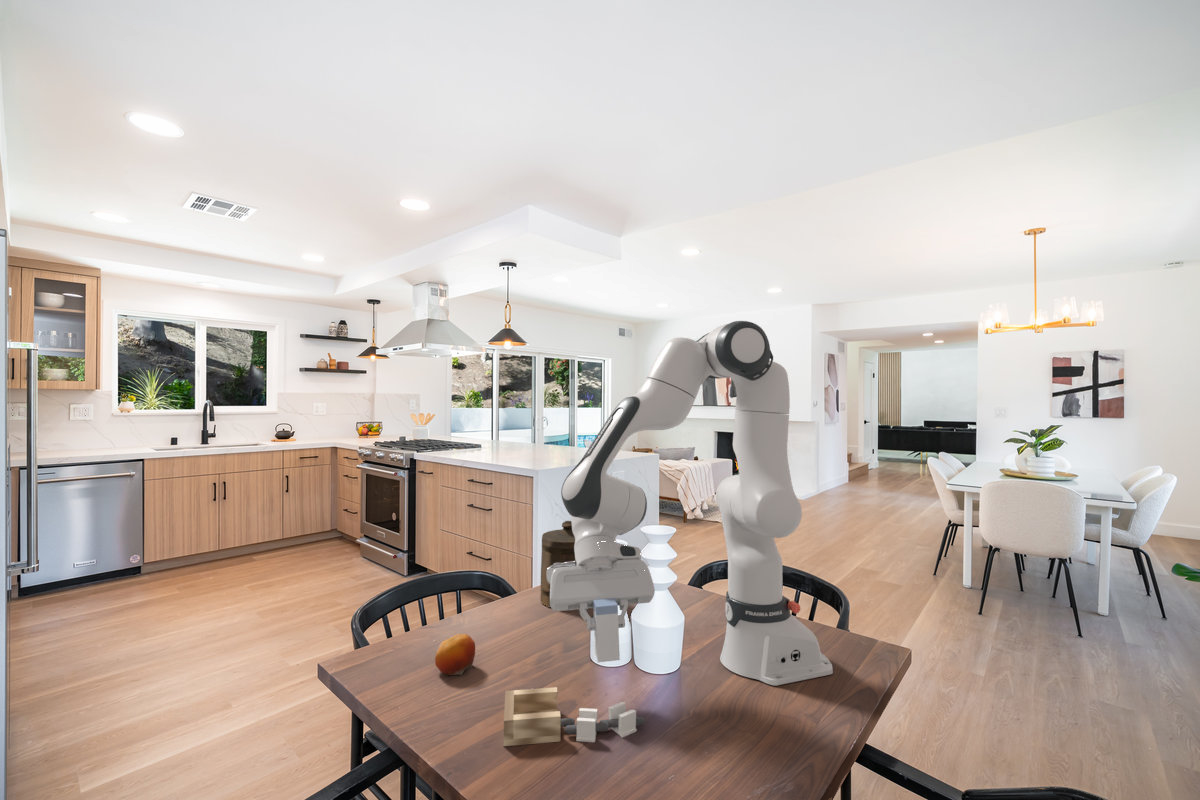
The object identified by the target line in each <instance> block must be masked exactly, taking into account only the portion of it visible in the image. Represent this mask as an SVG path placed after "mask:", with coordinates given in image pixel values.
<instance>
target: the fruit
mask: <svg viewBox="0 0 1200 800" xmlns="http://www.w3.org/2000/svg"><path fill="white" fill-rule="evenodd" d="M434 656H435V658H434V663H435V666H436V668H437V669H438V670H439V671H440V673H442V674H444V675H446V676H447V675H448V676H454V675H461V676H463V673H464V672H465V670H467V668H474V669H476V667H475V666H474V665H473V663H474V661H475V660H474V659H475V656H476V643H475V640H474V639H473V638H472V637H471V636H470V635H468V634H467V633H463V634H462V633H458V634H456V635H452V637H448V638H447V639H445V640H443V641H442V642H440V644H439V647H438V648H437V650H436V654H435V655H434Z"/></svg>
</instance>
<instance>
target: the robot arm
mask: <svg viewBox="0 0 1200 800" xmlns="http://www.w3.org/2000/svg"><path fill="white" fill-rule="evenodd" d="M770 346H771V344H770V341H769V338H768V336H767V334H766V333H765V330H763V328H762V327H761V326H760V325H758V324H757V323H755V322H752V321H747V320H736V321H732V322H729V323H727V324H726V323H725V324H723V325H720V326H718V327H716V328H714V329H713V330H711V331H710V332H708V333H706V334H705V335H702V337H700V338H699V339H698V340H696V341H695V340H693V339H691V338H688V337H682V336H681V337H674V338H672V339H670V340H669V341H667V343H666V344H665V346H664V347H663V348H662V350H661V351H660V353H658V355H657V357H656V359H655V360H654V362H653V364H652V366H651V367H650V369H649V372H648V374H647V375H646V378H645V380H644V382H643V383H642V385H641V387H640V388H639V389H638V390H637V392H635V393H634V394H633V395H632V396H628V397H624V398H623V399H622V400H621V401H620V402H619V403H618V404H617V405H616V406H615V408H614V409H613V411H612V412H611V413H610V414H609V416H608V418H607V420H606V421H605V423H604V424H603V425H602V426H601V428H600V430H599V432H598V433H597V435H596V437H595V438H594V439H593V441H592V443H591V444H590V445H589V447H588V449H587V450H586V452H585V453H584V455H583V457H581V459H580V461H579V462H578V463H577V464H576V465H575V466H574V468H573V469H572V470H571V471H570V472H569V474H567V476H566V478H565V479H564V481H563V483H562V487H561V493H560V494H561V500H562V503H563V505H564V508H565V510H566V511H567V513H568V514H569V515H570V516H571V517H570V518H571V520H570V521H571V522H572V531H573V534H574V537H575V544H574V551H575V561H571V562H564V563H554V564H553V565H552V566H550V567H549V568H548V569H547V571H546V577H547V582H548V583H549V584H550V607H551V609H552V611H553V612H562V611H573V610H578V611H579V615H580V616H581V618H582V619H583V620H584V622H585V623H586V627H587V631H588V632H590V631H591V632H592V631H593V632H594V630H596V623H595V618H594V617H591V616H590V615H589V613H588V609H593V600H597V599H608V598H615V600H616V603H617V605H618V609H619V611H621V613H620V614H618V627H619V629H621V628H622V629H623V628H624V629H625V627H626V619H625V618H626V617H625V616H626V615H627V614H626V613H627V610H628V607H629V605H637V604H648V603H650V602H652V600H653V598H654V596H655V591H656V590H655V585H654V584H655V583H654V581H653V578H652V574H651V572H650V569H649V567H648V565H647V564H646V562H645V561H644V560H643V559H642V551H641V549H640V547H637V546H632V545H628V544H623V543H619V542H617V539H616V538H617V537H618V536H622V535H624V534H626V533H628V532H631V531H632V530H634V529H635V528H637V527H638V526H639V525H640V524H641V523H642V522H643V521H644V519H645V517H646V515H647V509H648V508H647V507H648V501H647V500H648V499H647V496H646V493H645V491H644V490H643V489H642V487H640V486H637V485H635V484H634V483H631V482H628V481H626V480H624V479H621V478H617V477H616V476H613V475H611V474H608V473H607V471H608V470H609V468H610V466H611V465H612V463H613V461H614V460H615V459H616V456H617V455H618V453H619V451H621V449H622V447H623V445H624V444H625V442H626V440H628V438H630V436H632V435H634V434H637V433H638V432H644V431H665V430H666V431H667V430H670V429H673V428H675V427H678V426H679V425H681V424H682V423H683V422H684V421H685V420H686V418H687V417H688V416H689V414H690V412H691V410H692V407H693V405H694V403H695V401H696V398H697V395H698V394H699V390H700V389H701V386H702V385H703V383H704V382H705V380H707V378H711V379H716V380H717V379H730V378H731V380H732V383H733V385H734V387H735V393H736V400H735V412H734V419H733V421H734V422H733V434H732V449H733V452H734V454H735V457H736V458H735V459H736V463H737V467H738V474H735V475H734V474H733V475H730V476H727V477H726V478H724V479H723V480H721V482H720V483H719V484H718V486H717V488H716V490H715V491H716V493H715V500H716V504H717V506H718V510H719V511H720V516H721V522H722V523H721V524H722V529H723V535H724V540H725V546H726V553H727V581H728V582H727V591H726V594H725V605H724V606H725V619H726V627H725V629H726V630H725V637H724V642H723V646H722V650H721V653H720V656H719V660H720V662H721V664H722V665H723V666H724V667H725V668H726V669H728V670H729V671H730V672H732V673H734V674H737V675H739V676H742V677H745V678H748V679H749V678H750V679H755V680H758V681H760V682H762V683H765V684H767V685H770V686H781V685H785V684H790V683H795V682H800V681H806V680H811V679H815V678H819V677H825V676H830V675H833V673H834V667H833V664H832V662H831V661H830V659H828V657H826V655H825V654H824V653H822V652H821V649H820V648H821V647H820V644H819V641H818V638H817V637H816V635H815V634H814V633H813V631H812V630H811V629H809V628H808V627H807V626H806V625H805V624H803V622H801V621H800V620H799V619H797V618H796V617H795V616H794V615H792V613H794V614H799V613H800V612H801V609H802V608H801V605H800V604H799V603H797V602H796V601H795V600H790V599H789V598H788V597H786V596H785V595H783V560H782V556H781V554H780V552H779V549H778V547H777V544H776V541H775V539H781V538H785V537H788V536H789V535H792V534H793V533H794V532H795V531H796V530H797V529H798V527H799V525H800V524H801V520H802V515H803V514H802V513H803V512H802V511H803V509H802V506H801V503H800V500H799V499H798V498H797V495H796V494H795V490H794V487H793V482H792V478H791V473H790V472H791V470H790V465H789V458H788V457H789V456H788V455H789V454H788V441H789V440H788V437H789V423H790V422H789V421H790V408H791V406H790V404H791V403H790V385H789V384H790V383H789V375H788V372H787V370H786V369H785V367H783V365H782V364H780V363H778V362H776V361H774V355H773V353H772V351H771V347H770ZM601 541H606V542H601ZM614 541H616V542H614ZM597 542H599V543H598V544H597ZM598 545H599V546H598ZM624 545H625V546H624ZM626 545H627V546H626ZM599 548H600V549H599ZM640 553H641V555H640ZM552 567H554V568H552ZM644 570H645V571H644ZM550 607H549V608H550ZM791 612H792V613H791Z"/></svg>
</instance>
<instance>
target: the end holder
mask: <svg viewBox="0 0 1200 800" xmlns="http://www.w3.org/2000/svg"><path fill="white" fill-rule="evenodd" d="M504 692H505V694H504V710H503V711H504V712H503V747H511V746H520V745H521V746H522V745H523V746H524V745H532V744H545V743H554V742H555V743H556V742H561V727H560V721H561V719H562V718H561V717H562V716H561V711H560V710H558V687H556V686H555V687H542V688H540V687H539V688H529V689H527V688H526V689H514V690H505V691H504Z"/></svg>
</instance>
